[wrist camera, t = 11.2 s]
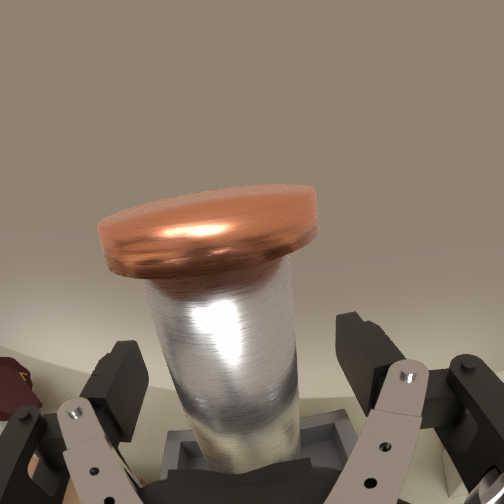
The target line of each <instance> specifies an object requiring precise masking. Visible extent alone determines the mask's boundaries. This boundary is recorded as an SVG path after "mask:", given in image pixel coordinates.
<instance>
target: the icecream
mask: <svg viewBox="0 0 504 504" xmlns="http://www.w3.org/2000/svg"><path fill="white" fill-rule="evenodd" d="M30 376H31V374H30V372H29V371H28V370H27V369H26V368H25V367H23V366H22V365H20V364H19V363H18V362H17V361H16V360H15V359H13V358H11V357H0V421H9V419H10V418H11V416H12V414H13V413H14V412H15V411H16V410H17V409H18V408H20V407H22V406H24V405H35V406H36V407H37V408H38V409H39V408H41V407H42V403H41V402H40V401H39V399H38V398H37V397H36V395H35V394H34V393H33V391H32V386H33V384H32V381H31V380H30Z"/></svg>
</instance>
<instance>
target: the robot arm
mask: <svg viewBox="0 0 504 504" xmlns="http://www.w3.org/2000/svg"><path fill="white" fill-rule="evenodd" d="M335 347H336V355H337V359H338V362H339V364H340V366H341V368H342V370H343V372H344V374H345V376H346V378H347V380H348V382H349V383H350V386H351V387H352V390H353V392H354V394H355V396H356V398H357V400H358V402H359V404H360V406H361V408H362V410H363V412H364V414H365V416H366V417H368V418H367V420H366V423H365V425H364V427H363V429H362V432H361V434H360V436H359V438H358V440H357V442H356V445H355V447H354V449H353V451H352V453H351V455H350V457H349V459H348V461H347V463H346V465H345V467H344V469H343V471H342V470H339V469H335V468H330V467H323V466H312V464H311V460H310V457H308V458H302V459H297V460H291V461H285V462H279V463H273V464H270V465H268V466H265V467H262V468H258V469H255V470H252V471H249V472H246V473H242V474H228V473H221V472H214V471H208V470H203V469H188V470H183V469H168V474H167V479H162V480H158V481H155V482H153V483H150V484H148V485H146V486H144V487H143V486H142V485H141V483H140V482H139V481H138V479H137V477H136V476H135V474H134V473H133V471H132V470H131V468H130V466H129V465H128V463H127V461H126V460H125V458H124V456H123V455H122V453H121V451H120V450H119V448H118V445H119V442H130V443H131V440H132V436H133V433H134V429H135V426H136V423H137V419H138V416H139V413H140V409H141V406H142V403H143V400H144V396H145V393H146V390H147V387H148V382H149V376H148V371H147V368H146V366H145V363H144V360H143V358H142V355H141V352H140V349H139V347H138V344H137V342H136V341H134V340H130V341H117V342H116V344H115V346H114V347H113V349H112V351H111V353H108V354H106V355H105V356H104V357H103V358H102V359H101V360H99V362H98V364H97V366H96V367H95V370H94V371H93V373H92V374H91V377H90V378H89V380H88V381H87V383H86V385H85V387H84V389H83V391H82V392H81V394H80V396H79V397H76V398H72V399H69V400H67V401H65V402H64V403H63V404H62V405H61V406H60V407H59V409H58V411H57V413H52V414H45V415H42V414H41V412H40V410H39V409H38V408H37V407H36V406H35V405H24V406H22V407H20V408H18V409H17V410H16V411H15V412H14V413H13V414H12V416H11V418H10V419H9V421H8V423H7V425H6V426H5V428H4V430H3V432H2V433H1V435H0V504H62V503H63V499H64V496H65V492H66V489H67V485H68V482H69V479H70V476H71V479H72V481H73V484H74V486H75V489H76V491H77V494H78V496H79V498H80V501H81V503H82V504H410V503H408V502H406V501H403V500H401V499H399V495H400V492H401V489H402V487H403V484H404V481H405V478H406V475H407V472H408V469H409V466H410V463H411V459H412V456H413V452H414V449H415V445H416V442H417V438H418V434H419V430H420V429H426V428H434V429H435V431H436V433H437V435H438V437H439V438H440V440H441V442H442V444H443V445H444V447H445V449H446V451H447V453H448V455H449V456H450V458H451V460H452V462H453V464H454V466H455V468H456V470H457V471H458V473H459V475H460V477H461V479H462V481H463V483H464V485H465V487H466V489H467V491H468V493H469V495H468V496H467V498H466V500H465V502H464V504H504V383H503V382H502V381H501V380H500V379H499V378H498V377H497V375H496V374H495V373H494V372H493V371H492V370H491V369H490V368H489V367H488V366H487V365H486V364H485V363H484V362H483V360H481V359H480V358H479V357H477V356H474V355H470V354H462V355H458V356H456V357H455V358H454V359H452V361H451V363H450V366H449V368H448V369H439V370H428V369H427V367H426V366H425V365H424V364H422V363H421V362H419V361H415V360H410V359H406V358H405V357H404V355H403V354H402V353H401V352H400V350H399V349H398V348H397V347H396V346H395V344H394V343H393V342H392V341H390V338H389V337H388V336H387V335H385V332H384V331H383V330H382V329H381V327H380V326H378V325H377V324H375V323H373V322H370V321H366V322H364V321H363V320H362V319H361V318H360V316H359V315H358V314H357V313H356V312H355V311H354V312H349V313H344V314H339V315H337V316H336V346H335ZM33 453H35V454H36V456H37V457H38V458H39V461H38V464H37V466H36V469H35V471H34V474H33V476H32V479H31V478H30V476H29V474H28V465H29V463H30V460H31V458H32V456H33Z"/></svg>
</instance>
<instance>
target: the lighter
mask: <svg viewBox="0 0 504 504" xmlns="http://www.w3.org/2000/svg"><path fill="white" fill-rule="evenodd" d="M441 456H442V461H443V466H444V472H445V478H446V484H447V490H448V497H450V498H454V497H458V496H462V495H465V494H469V493H468V491H467V489H466V487H465V485H464V483H463V481H462V479H461V477H460V475H459V473H458V471H457V470H456V468H455V466H454V464H453V462H452V460H451V458H450V456H449V455H448V453H447V451H446V449H444V451H443V452H442V454H441Z"/></svg>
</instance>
